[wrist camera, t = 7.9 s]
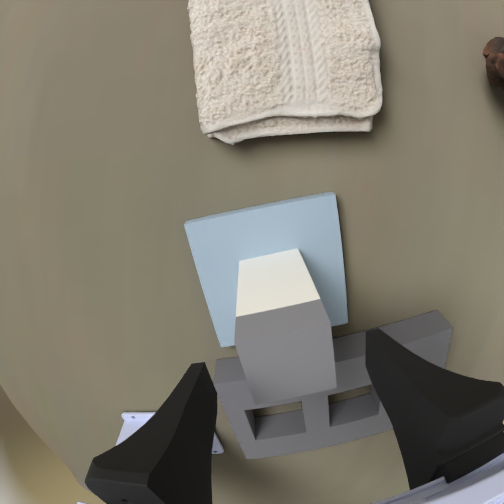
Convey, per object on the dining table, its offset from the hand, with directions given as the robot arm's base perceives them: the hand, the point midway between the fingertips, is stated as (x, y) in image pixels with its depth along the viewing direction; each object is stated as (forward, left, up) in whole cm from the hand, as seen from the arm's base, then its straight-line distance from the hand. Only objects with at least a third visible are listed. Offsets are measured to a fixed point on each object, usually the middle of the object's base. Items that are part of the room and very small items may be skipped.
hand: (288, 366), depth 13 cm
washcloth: (+4, +18, -11) cm, 21 cm away
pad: (0, 0, -10) cm, 10 cm away
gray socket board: (+4, -13, -10) cm, 17 cm away
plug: (0, 0, -9) cm, 9 cm away
